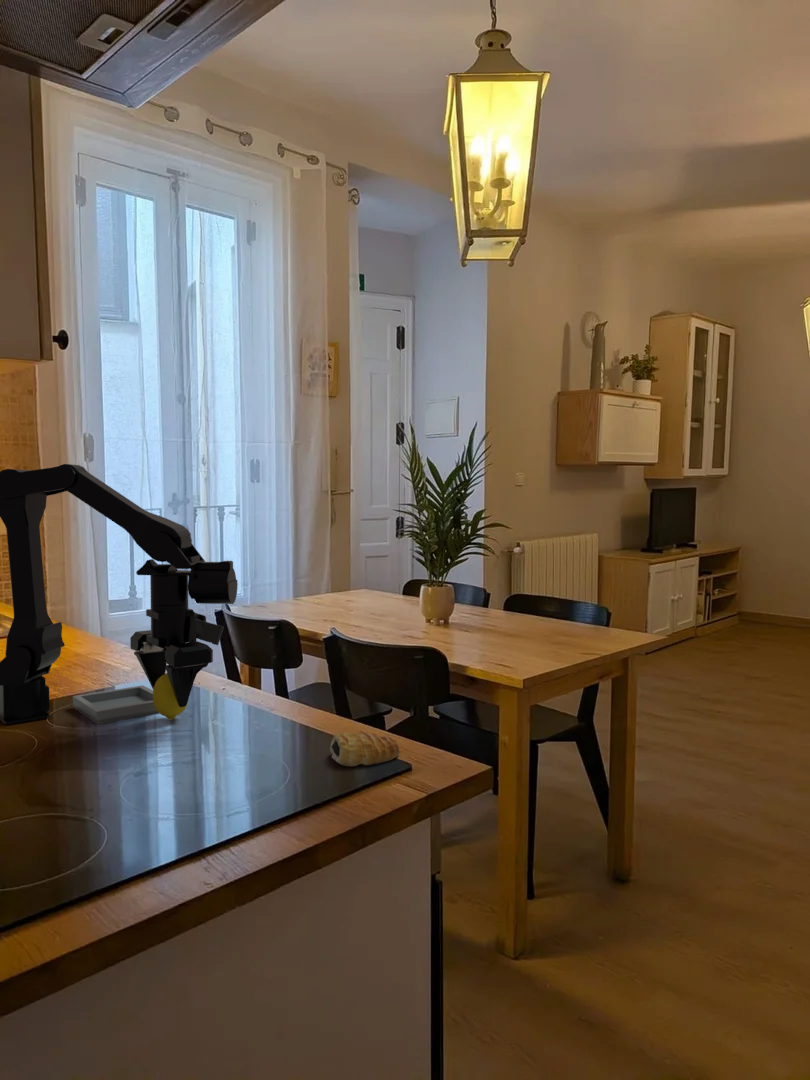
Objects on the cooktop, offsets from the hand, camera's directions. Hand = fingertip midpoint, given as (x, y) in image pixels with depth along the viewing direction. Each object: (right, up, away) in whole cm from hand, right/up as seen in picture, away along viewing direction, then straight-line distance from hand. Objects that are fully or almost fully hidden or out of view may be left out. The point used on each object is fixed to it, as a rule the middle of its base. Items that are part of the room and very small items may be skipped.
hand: (170, 700), depth 124 cm
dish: (-10, -3, +6) cm, 12 cm away
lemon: (0, -3, 0) cm, 3 cm away
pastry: (+31, -5, -17) cm, 36 cm away
